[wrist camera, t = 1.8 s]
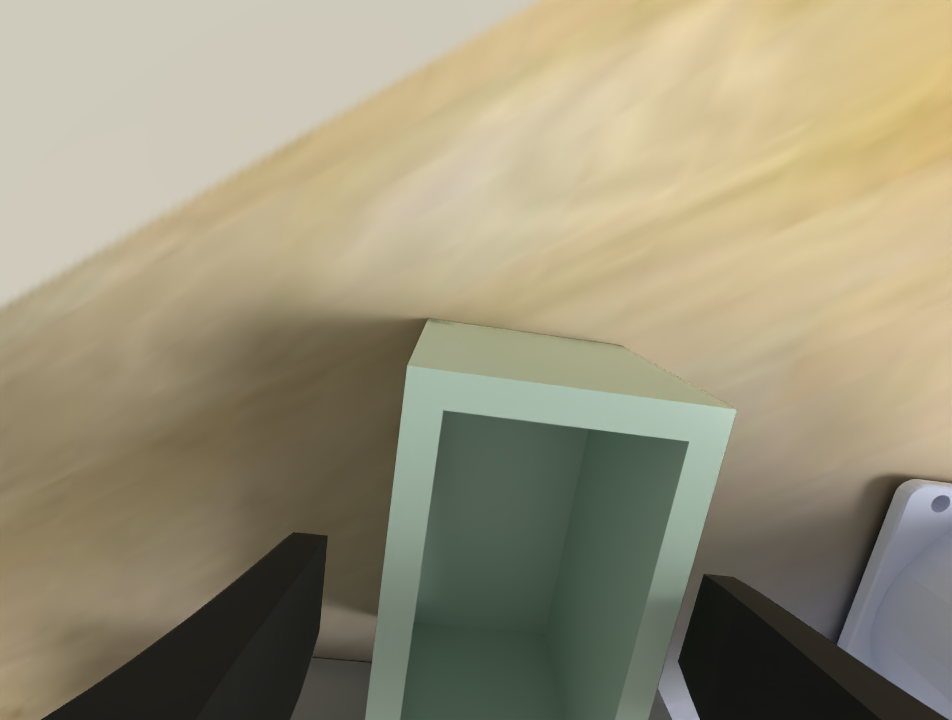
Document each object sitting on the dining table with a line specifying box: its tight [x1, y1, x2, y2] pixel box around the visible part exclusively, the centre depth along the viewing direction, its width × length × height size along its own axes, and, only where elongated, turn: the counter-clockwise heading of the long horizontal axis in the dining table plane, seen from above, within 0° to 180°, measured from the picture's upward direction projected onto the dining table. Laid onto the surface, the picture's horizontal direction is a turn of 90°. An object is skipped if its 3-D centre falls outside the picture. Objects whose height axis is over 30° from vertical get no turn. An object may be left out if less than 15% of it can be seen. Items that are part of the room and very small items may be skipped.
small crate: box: [365, 318, 737, 720], centre depth 10 cm, size 5×9×5 cm, turn 172°
